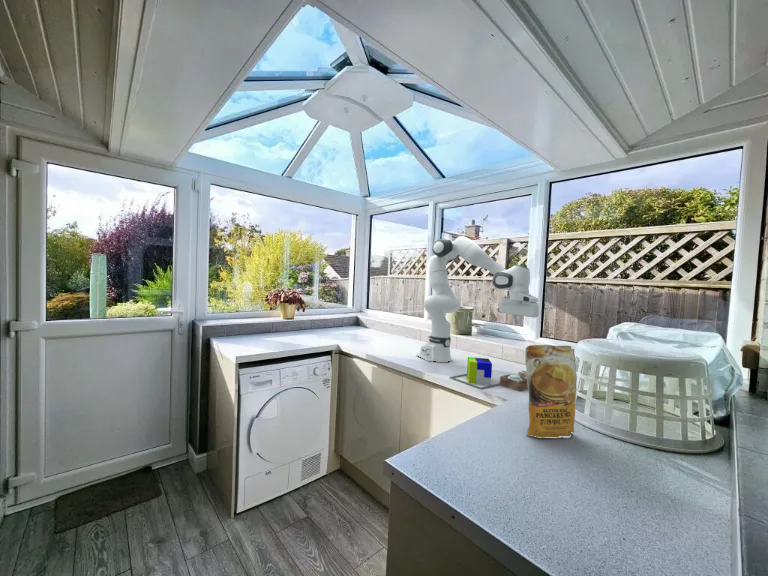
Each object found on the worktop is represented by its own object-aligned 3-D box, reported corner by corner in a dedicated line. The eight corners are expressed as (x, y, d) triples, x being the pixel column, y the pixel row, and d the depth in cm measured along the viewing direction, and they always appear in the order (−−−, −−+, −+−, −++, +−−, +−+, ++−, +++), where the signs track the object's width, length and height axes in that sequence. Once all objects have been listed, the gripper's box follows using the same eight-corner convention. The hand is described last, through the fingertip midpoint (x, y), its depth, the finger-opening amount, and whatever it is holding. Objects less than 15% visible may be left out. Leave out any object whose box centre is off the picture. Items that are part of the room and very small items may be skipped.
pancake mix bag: (514, 429, 103) (519, 343, 103) (568, 428, 106) (573, 344, 105) (526, 440, 97) (532, 347, 96) (583, 438, 99) (589, 348, 99)
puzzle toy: (490, 385, 149) (492, 363, 148) (468, 383, 150) (469, 361, 150) (487, 378, 159) (488, 358, 158) (466, 376, 160) (467, 357, 160)
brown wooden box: (499, 384, 150) (499, 372, 149) (518, 379, 159) (519, 368, 159) (518, 391, 142) (519, 378, 141) (538, 385, 151) (538, 373, 151)
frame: (449, 378, 156) (449, 376, 156) (471, 373, 166) (471, 372, 166) (481, 389, 141) (481, 388, 141) (503, 384, 151) (503, 382, 151)
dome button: (504, 381, 149) (504, 375, 149) (512, 379, 153) (512, 373, 153) (517, 385, 144) (517, 378, 144) (525, 383, 148) (525, 376, 147)
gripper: (497, 295, 171) (496, 321, 172) (534, 298, 154) (532, 327, 155) (504, 295, 175) (503, 320, 175) (541, 299, 158) (539, 326, 159)
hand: (517, 323), depth 165 cm, fingers closed
